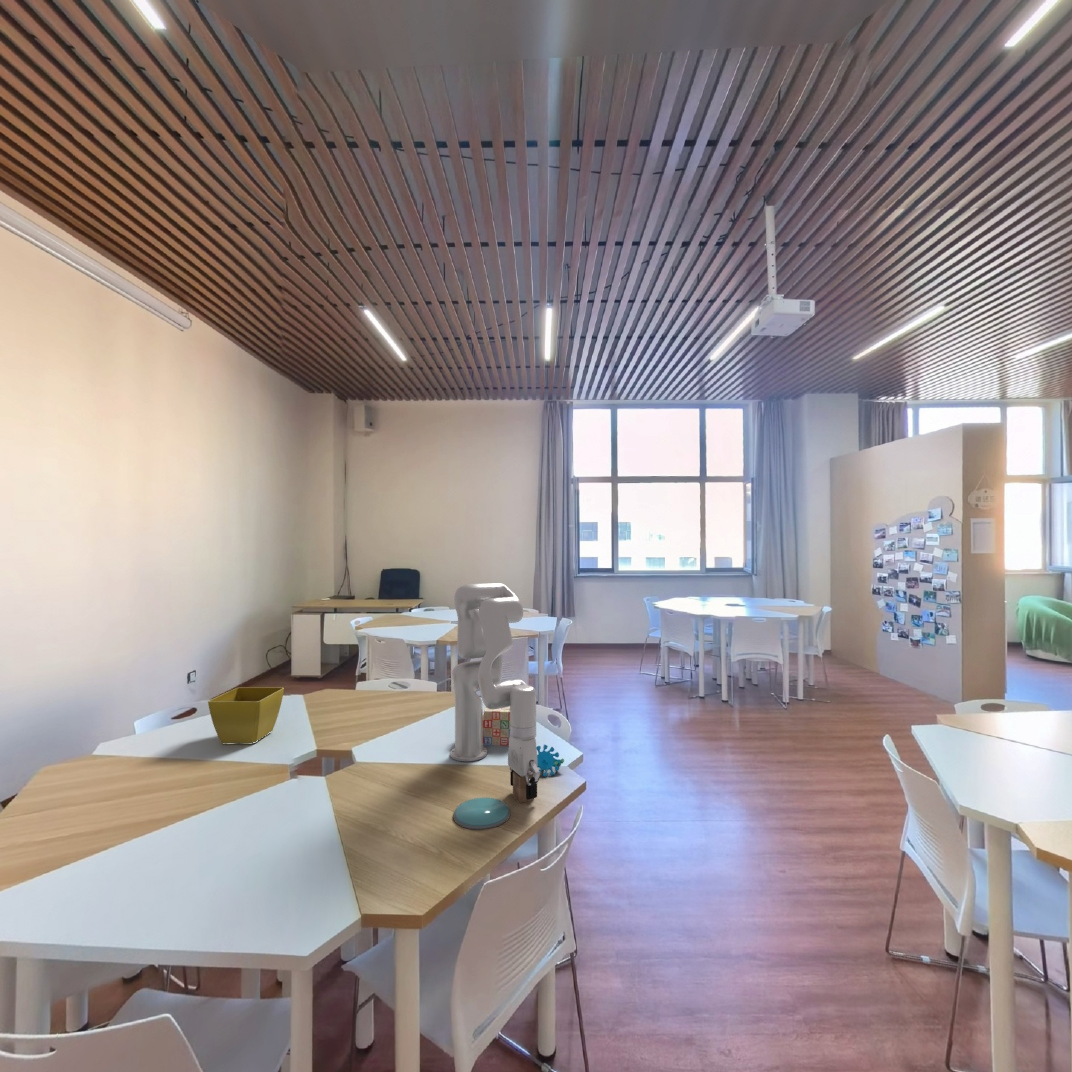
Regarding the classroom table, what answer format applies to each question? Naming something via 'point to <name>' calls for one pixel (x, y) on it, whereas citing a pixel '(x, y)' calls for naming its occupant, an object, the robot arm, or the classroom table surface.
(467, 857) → the classroom table surface
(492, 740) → the stack of blocks
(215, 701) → the flower pot
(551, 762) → the spiky teal germ figurine
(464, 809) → the teal domed disc
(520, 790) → the walnut block
